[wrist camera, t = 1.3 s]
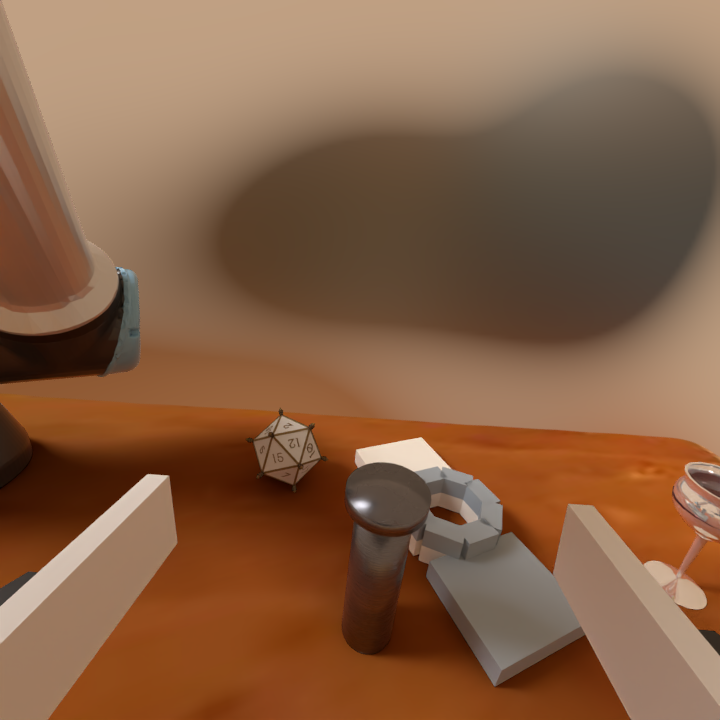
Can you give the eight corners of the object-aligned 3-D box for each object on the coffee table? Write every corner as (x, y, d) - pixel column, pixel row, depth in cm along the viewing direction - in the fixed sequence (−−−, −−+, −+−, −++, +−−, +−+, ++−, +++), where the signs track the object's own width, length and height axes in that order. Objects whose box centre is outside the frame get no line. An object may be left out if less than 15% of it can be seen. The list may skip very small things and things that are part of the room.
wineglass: (650, 605, 33) (711, 504, 29) (622, 545, 39) (668, 454, 35) (737, 631, 32) (817, 529, 27) (694, 564, 38) (753, 472, 33)
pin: (322, 605, 30) (333, 470, 25) (381, 583, 33) (403, 456, 27) (347, 680, 26) (367, 535, 20) (414, 648, 28) (449, 510, 23)
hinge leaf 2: (382, 506, 41) (386, 478, 40) (453, 487, 45) (459, 460, 44) (494, 686, 26) (508, 653, 25) (586, 634, 30) (603, 602, 29)
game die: (275, 491, 47) (262, 415, 48) (339, 479, 46) (323, 400, 47) (242, 510, 38) (227, 415, 40) (320, 494, 37) (301, 398, 39)
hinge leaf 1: (354, 462, 48) (356, 449, 47) (418, 449, 52) (421, 437, 51) (432, 586, 33) (435, 570, 32) (513, 553, 37) (519, 539, 36)
